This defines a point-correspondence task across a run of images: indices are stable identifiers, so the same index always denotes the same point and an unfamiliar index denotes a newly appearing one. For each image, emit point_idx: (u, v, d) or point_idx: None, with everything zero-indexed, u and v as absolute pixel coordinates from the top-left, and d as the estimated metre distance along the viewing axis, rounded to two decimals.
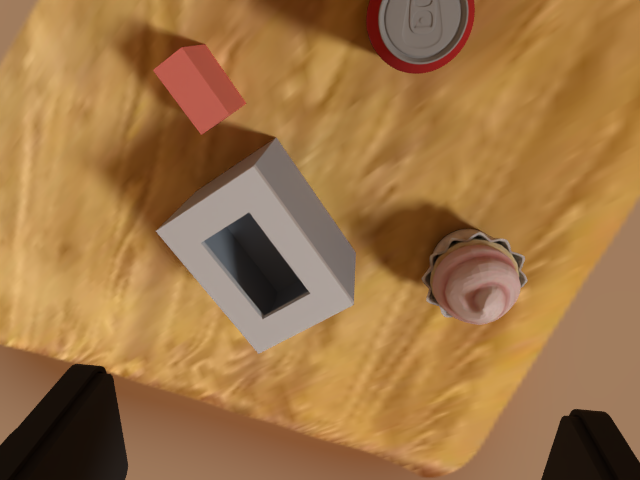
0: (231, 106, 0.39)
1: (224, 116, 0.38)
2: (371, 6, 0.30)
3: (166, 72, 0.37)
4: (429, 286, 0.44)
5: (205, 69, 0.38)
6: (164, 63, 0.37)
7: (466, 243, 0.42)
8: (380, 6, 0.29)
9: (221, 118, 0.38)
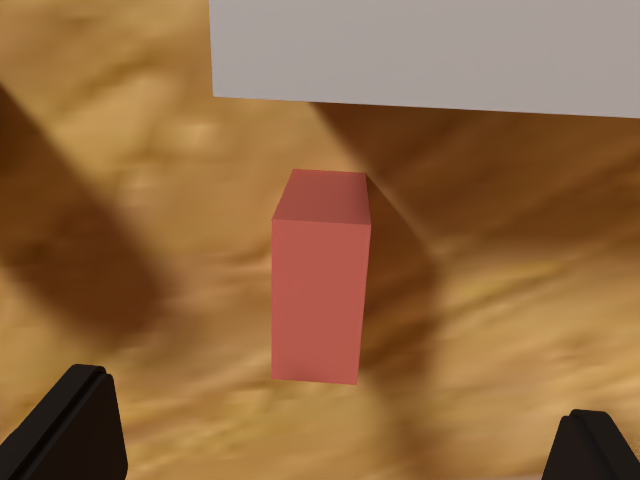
0: None
1: (286, 223, 0.14)
2: None
3: (335, 366, 0.16)
4: None
5: None
6: (325, 379, 0.17)
7: None
8: None
9: (296, 224, 0.14)
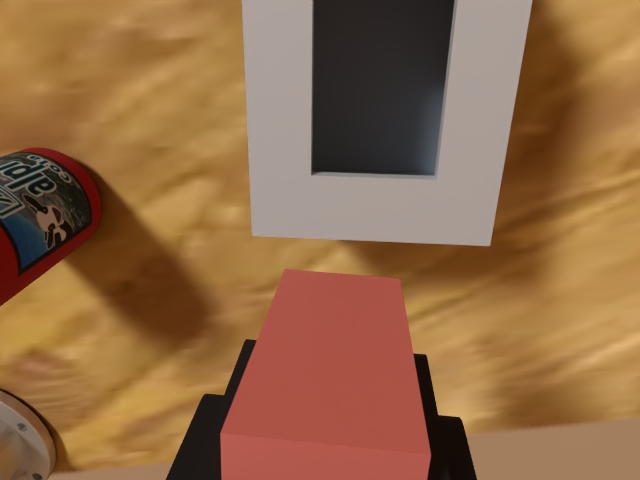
0: None
1: (250, 442, 0.07)
2: None
3: None
4: None
5: None
6: None
7: None
8: None
9: (271, 444, 0.07)
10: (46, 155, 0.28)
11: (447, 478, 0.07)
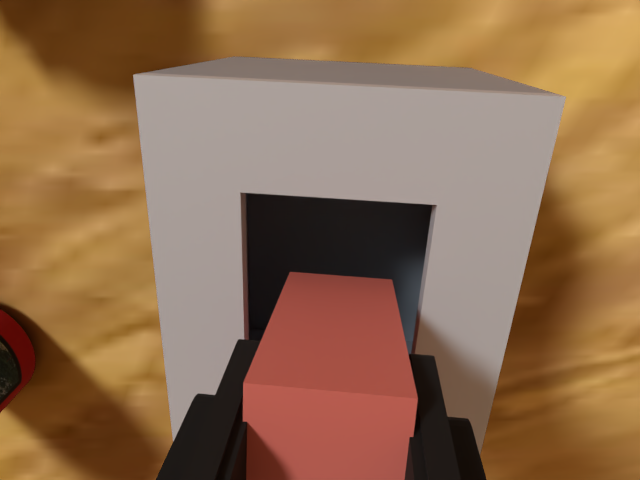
0: None
1: (267, 391, 0.08)
2: None
3: None
4: None
5: None
6: None
7: None
8: None
9: (285, 392, 0.08)
10: None
11: None
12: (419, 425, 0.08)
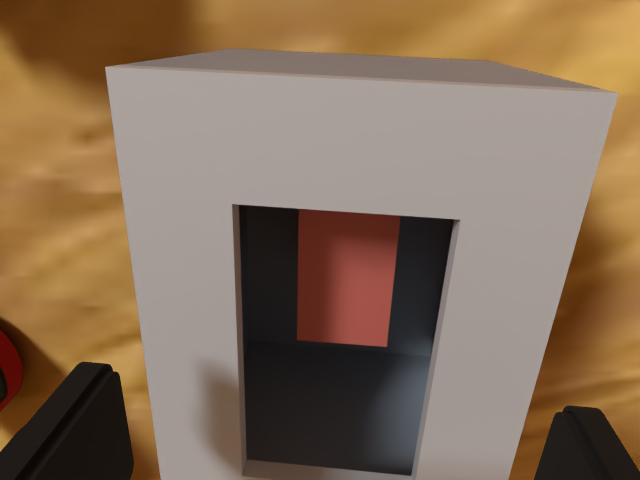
0: None
1: None
2: None
3: None
4: None
5: None
6: None
7: None
8: None
9: None
10: None
11: None
12: None
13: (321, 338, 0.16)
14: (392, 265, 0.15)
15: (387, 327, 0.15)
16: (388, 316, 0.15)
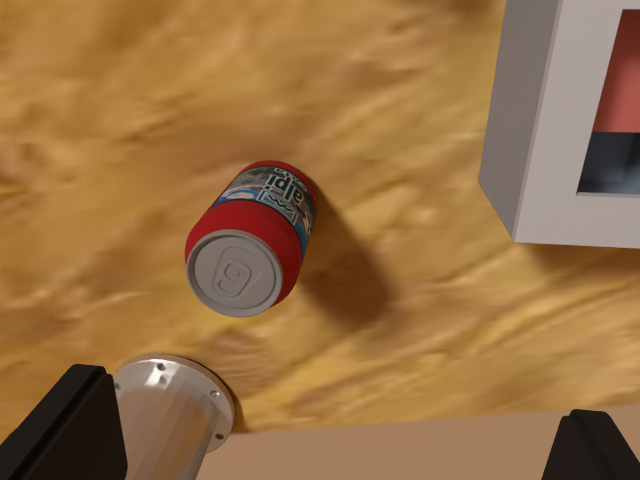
0: None
1: None
2: (279, 301, 0.28)
3: None
4: None
5: None
6: None
7: None
8: (268, 305, 0.27)
9: None
10: (284, 167, 0.33)
11: None
12: None
13: (601, 129, 0.26)
14: None
15: None
16: None
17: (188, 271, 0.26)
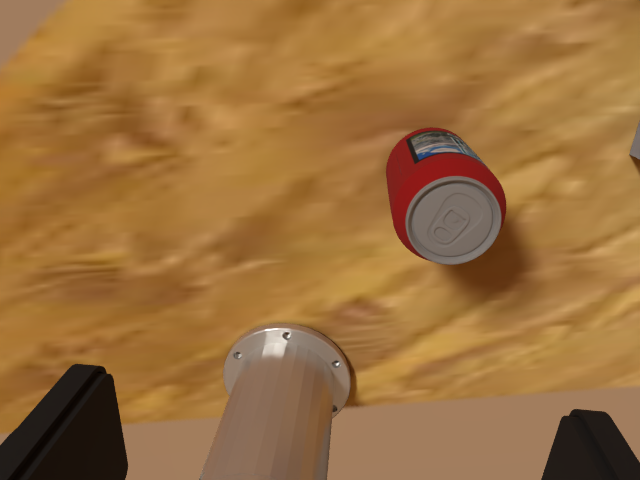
0: None
1: None
2: None
3: None
4: None
5: None
6: None
7: None
8: (478, 253, 0.28)
9: None
10: (452, 133, 0.35)
11: None
12: None
13: None
14: None
15: None
16: None
17: (408, 217, 0.27)
